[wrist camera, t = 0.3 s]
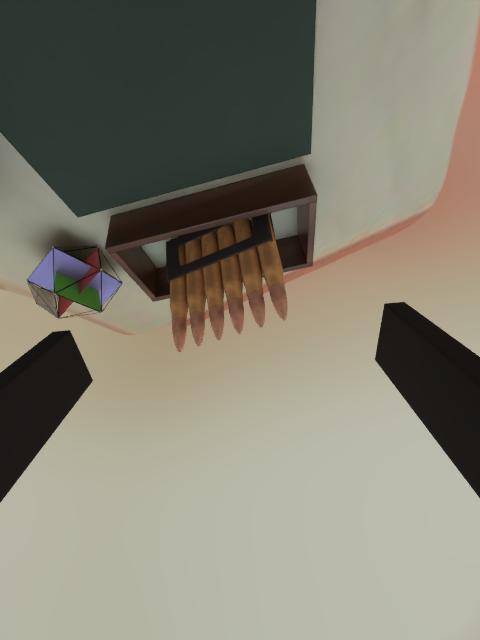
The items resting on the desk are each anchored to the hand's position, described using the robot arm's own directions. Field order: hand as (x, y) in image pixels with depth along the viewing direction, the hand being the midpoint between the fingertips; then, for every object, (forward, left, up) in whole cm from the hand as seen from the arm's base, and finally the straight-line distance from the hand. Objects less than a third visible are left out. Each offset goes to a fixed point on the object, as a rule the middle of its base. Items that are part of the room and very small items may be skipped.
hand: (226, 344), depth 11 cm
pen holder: (+7, -1, -16) cm, 18 cm away
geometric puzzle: (+7, -15, -16) cm, 23 cm away
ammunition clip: (+7, -1, -16) cm, 18 cm away
